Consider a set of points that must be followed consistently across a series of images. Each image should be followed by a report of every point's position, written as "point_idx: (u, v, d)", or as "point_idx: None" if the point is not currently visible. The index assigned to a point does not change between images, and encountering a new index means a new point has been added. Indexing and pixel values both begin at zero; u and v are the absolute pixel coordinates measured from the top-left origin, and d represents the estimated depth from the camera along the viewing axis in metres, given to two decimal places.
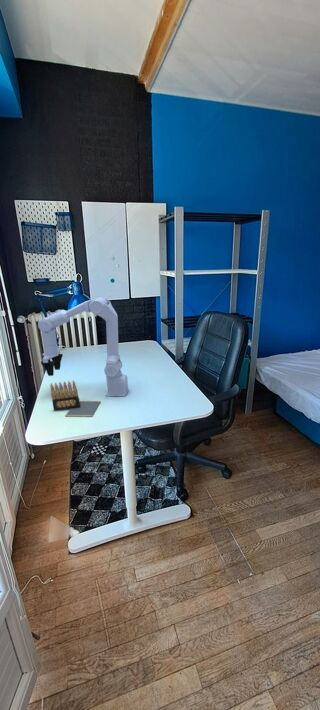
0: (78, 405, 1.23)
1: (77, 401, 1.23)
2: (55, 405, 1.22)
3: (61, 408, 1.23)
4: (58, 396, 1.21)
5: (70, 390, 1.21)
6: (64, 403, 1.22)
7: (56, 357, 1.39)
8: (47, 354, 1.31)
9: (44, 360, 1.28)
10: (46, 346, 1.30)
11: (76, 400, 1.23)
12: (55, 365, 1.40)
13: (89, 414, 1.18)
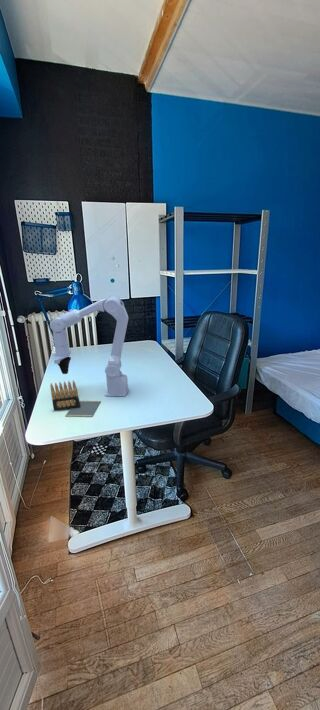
0: (78, 405, 1.23)
1: (77, 401, 1.23)
2: (55, 405, 1.22)
3: (61, 408, 1.23)
4: (58, 396, 1.21)
5: (70, 390, 1.21)
6: (64, 403, 1.22)
7: None
8: (58, 355, 1.29)
9: (56, 361, 1.25)
10: (57, 347, 1.28)
11: (76, 400, 1.23)
12: None
13: (89, 414, 1.18)
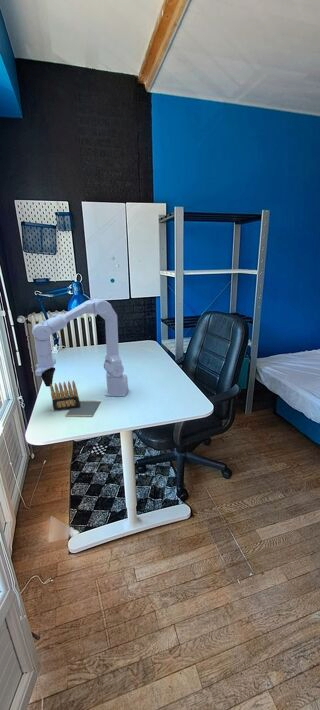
0: (78, 405, 1.23)
1: (77, 401, 1.23)
2: (55, 406, 1.22)
3: (61, 408, 1.23)
4: (58, 396, 1.21)
5: (70, 390, 1.21)
6: (64, 403, 1.22)
7: None
8: (40, 366, 1.16)
9: (37, 373, 1.12)
10: (39, 357, 1.15)
11: (76, 400, 1.23)
12: None
13: (89, 414, 1.18)
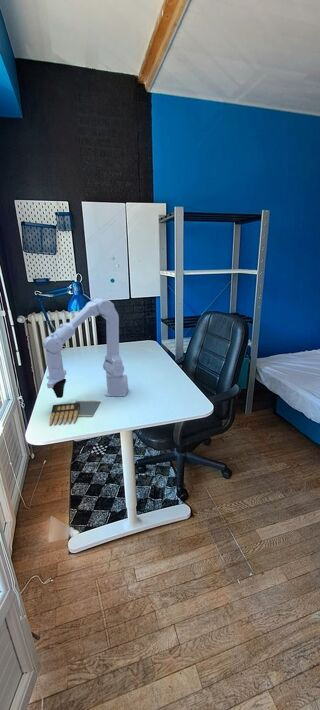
0: None
1: None
2: None
3: None
4: None
5: None
6: None
7: None
8: (52, 378, 1.17)
9: (49, 385, 1.13)
10: (51, 369, 1.16)
11: None
12: None
13: (89, 414, 1.18)
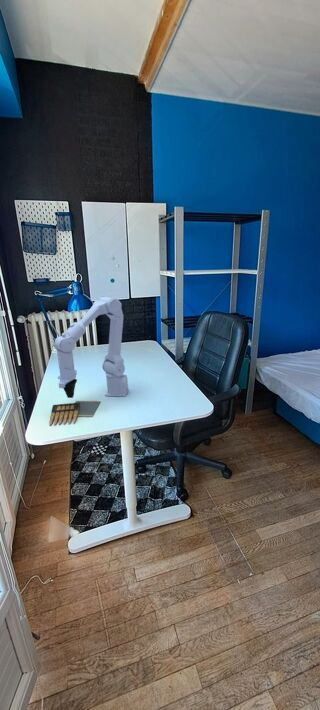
0: None
1: None
2: None
3: None
4: None
5: None
6: None
7: None
8: (63, 378, 1.17)
9: (60, 385, 1.13)
10: (62, 369, 1.16)
11: None
12: None
13: (89, 414, 1.18)
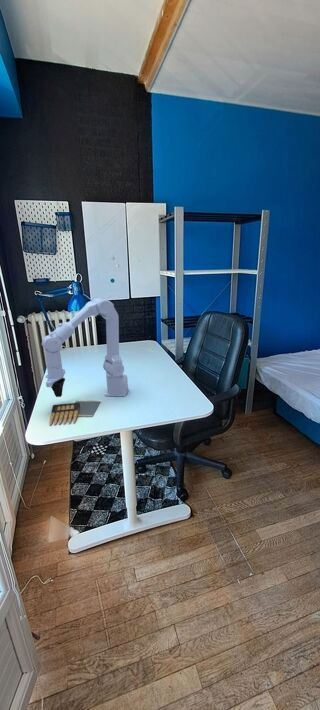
0: None
1: None
2: None
3: None
4: None
5: None
6: None
7: None
8: (51, 377, 1.17)
9: (48, 384, 1.13)
10: (50, 368, 1.16)
11: None
12: None
13: (89, 414, 1.18)
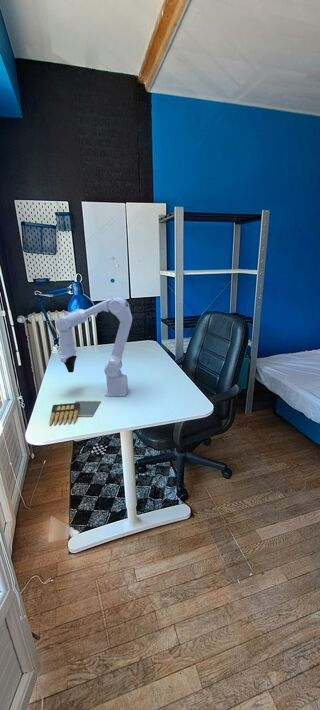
0: None
1: None
2: None
3: None
4: None
5: None
6: None
7: None
8: (64, 353, 1.31)
9: (62, 359, 1.27)
10: (64, 345, 1.30)
11: None
12: None
13: (89, 414, 1.18)
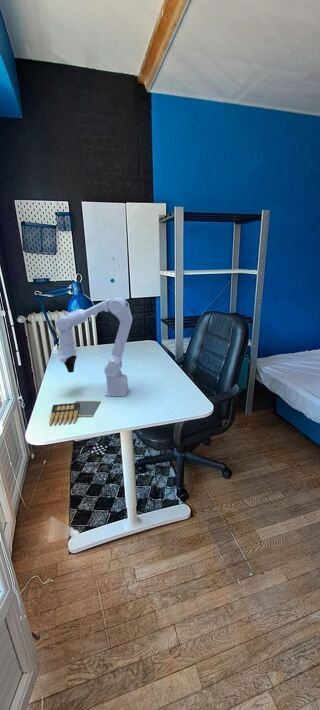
0: None
1: None
2: None
3: None
4: None
5: None
6: None
7: None
8: (64, 353, 1.31)
9: (62, 359, 1.27)
10: (64, 345, 1.30)
11: None
12: None
13: (89, 414, 1.18)
